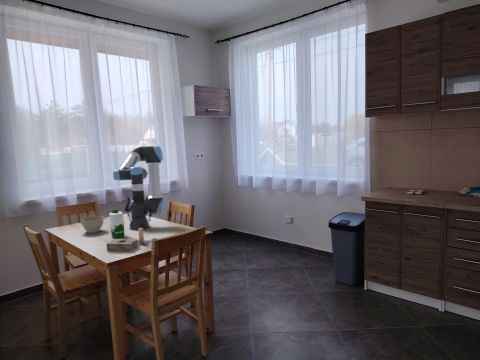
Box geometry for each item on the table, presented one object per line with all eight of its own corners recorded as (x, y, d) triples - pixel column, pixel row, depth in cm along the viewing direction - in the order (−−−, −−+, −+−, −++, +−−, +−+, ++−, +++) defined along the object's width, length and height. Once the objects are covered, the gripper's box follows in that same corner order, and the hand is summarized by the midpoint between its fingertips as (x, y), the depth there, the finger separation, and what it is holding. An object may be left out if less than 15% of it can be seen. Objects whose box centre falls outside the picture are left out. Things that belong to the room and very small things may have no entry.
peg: (140, 242, 227) (139, 228, 226) (144, 242, 227) (143, 228, 226) (138, 243, 224) (137, 229, 223) (142, 243, 224) (141, 229, 223)
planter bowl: (96, 234, 251) (95, 220, 250) (77, 234, 254) (76, 220, 253) (108, 229, 267) (107, 215, 265) (90, 228, 270) (89, 215, 269)
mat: (137, 240, 232) (137, 240, 232) (153, 241, 231) (153, 240, 231) (129, 246, 221) (129, 245, 221) (146, 246, 219) (146, 246, 219)
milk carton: (122, 234, 250) (120, 208, 247) (126, 237, 242) (124, 210, 240) (110, 236, 244) (108, 210, 242) (113, 239, 237) (111, 212, 235)
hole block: (115, 246, 222) (114, 238, 222) (137, 246, 220) (137, 239, 219) (107, 251, 213) (106, 243, 212) (130, 251, 210) (129, 244, 209)
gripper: (117, 191, 219) (119, 222, 222) (153, 190, 215) (155, 222, 218) (123, 189, 227) (125, 220, 229) (158, 189, 223) (159, 220, 225)
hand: (140, 221), depth 223 cm, fingers open, 13 cm apart
